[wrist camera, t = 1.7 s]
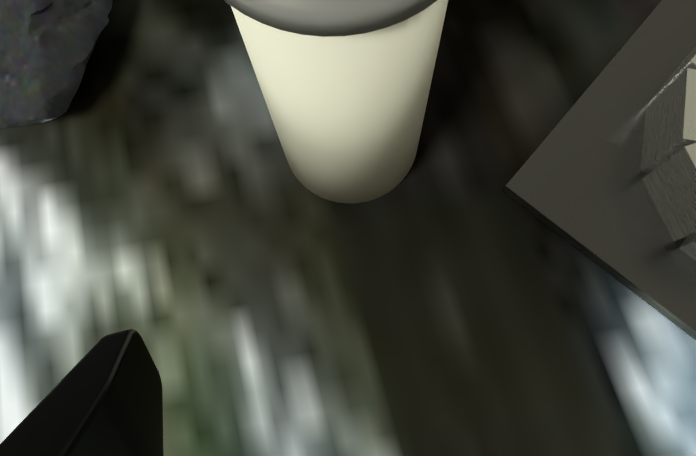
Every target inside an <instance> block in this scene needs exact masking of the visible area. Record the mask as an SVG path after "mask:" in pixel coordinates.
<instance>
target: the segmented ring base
mask: <svg viewBox="0 0 696 456" xmlns="http://www.w3.org/2000/svg"><path fill="white" fill-rule="evenodd" d="M502 191H503V192H504V193H505V194H507V195H508V196H509V197H511V198H512V199H513V200H515V201H516V202H517V203H518V204H520V205H521V206H522V207H524V208H525V209H526V210H528V211H529V212H530V213H531V214H533V215H534V216H535V217H537V218H538V219H539V220H540V221H542V222H543V223H544V224H546V225H547V226H548V227H550V228H551V229H552V230H553V231H555V232H556V233H557V234H559V235H560V236H561V237H563V238H564V239H565V240H566V241H568V242H569V243H570V244H572V245H573V246H574V247H576V248H577V249H578V250H579V251H581V252H582V253H583V254H585V255H586V256H587V257H589V258H590V259H591V260H592V261H594V262H595V263H596V264H598V265H599V266H600V267H602V268H603V269H604V270H605V271H607V272H608V273H609V274H611V275H612V276H613V277H615V278H616V279H617V280H618V281H620V282H621V283H622V284H624V285H625V286H626V287H628V288H629V289H630V290H631V291H633V292H634V293H635V294H637V295H638V296H639V297H641V298H642V299H643V300H644V301H646V302H647V303H648V304H650V305H651V306H652V307H654V308H655V309H656V310H657V311H659V312H660V313H661V314H663V315H664V316H665V317H667V318H668V319H669V320H670V321H672V322H673V323H674V324H676V325H677V326H678V327H680V328H681V329H682V330H683V331H685V332H686V333H687V334H689V335H690V336H691V337H693V338H694V339H695V340H696V0H662V1H661V2H660V3H659V4H658V5H657V7H656V8H655V9H654V10H653V11H652V13H651V14H650V15H649V16H648V17H647V18H646V20H645V21H644V22H643V23H642V24H641V26H640V27H639V28H638V29H637V30H636V32H635V33H634V34H633V35H632V36H631V37H630V39H629V40H628V41H627V42H626V43H625V45H624V46H623V47H622V48H621V49H620V51H619V52H618V53H617V54H616V55H615V56H614V58H613V59H612V60H611V61H610V62H609V64H608V65H607V66H606V67H605V68H604V70H603V71H602V72H601V73H600V74H599V75H598V77H597V78H596V79H595V80H594V81H593V83H592V84H591V85H590V86H589V87H588V89H587V90H586V91H585V92H584V93H583V95H582V96H581V97H580V98H579V99H578V100H577V102H576V103H575V104H574V105H573V106H572V108H571V109H570V110H569V111H568V112H567V114H566V115H565V116H564V117H563V118H562V119H561V121H560V122H559V123H558V124H557V125H556V127H555V128H554V129H553V130H552V131H551V133H550V134H549V135H548V136H547V137H546V138H545V140H544V141H543V142H542V143H541V144H540V146H539V147H538V148H537V149H536V150H535V152H534V153H533V154H532V155H531V156H530V157H529V159H528V160H527V161H526V162H525V163H524V165H523V166H522V167H521V168H520V169H519V171H518V172H517V173H516V174H515V175H514V177H513V178H512V179H511V180H510V181H509V182H508V184H507V185H506V186H505V188H504V189H503V190H502Z"/></svg>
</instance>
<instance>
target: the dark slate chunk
mask: <svg viewBox="0 0 696 456" xmlns="http://www.w3.org/2000/svg"><path fill="white" fill-rule="evenodd" d="M111 8H112V0H0V129H5V128H13V127H19V126H27V125H31V124H35V123H43V122H47V121H50V120H53V119H55V118H57V117H59V116H61V115H63V114H64V113H65V112H66V111H67V109H68V108H69V106H70V103H71V101H72V99H73V97H74V95H75V94H76V92H77V90H78V88H79V85H80V83H81V80H82V77H83V74H84V71H85V68H86V65H87V62H88V60H89V58H90V56H91V54H92V52H93V49H94V47H95V44H96V41H97V39H98V37H99V35H100V33H101V31H102V30H103V28H104V27H105V26H106V25H107V23H108V22H109V19H108V14H109V12H110V10H111Z"/></svg>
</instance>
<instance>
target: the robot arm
mask: <svg viewBox="0 0 696 456" xmlns="http://www.w3.org/2000/svg"><path fill="white" fill-rule="evenodd" d="M0 456H164V455H163V401H162V383H161V378H160V375H159V372H158V370H157V368H156V366H155V364H154V362H153V360H152V358H151V356H150V354H149V352H148V350H147V347H146V345H145V343H144V341H143V339H142V337H141V336H140V334H139V333H138V332H137V331H135V330H133V329H129V330H125V331H121V332H117V333H113V334H109V335H106V336H104V337H103V338H102V339H101V340H100V341H99V342H98V343H97V344H96V345H95V346H94V347H93V348H92V349H91V350H90V351H89V352H88V353H87V354H86V355H85V356H84V357H83V358H82V359H81V360H80V362H79V363H78V364H77V365H76V366H75V367H74V368H73V369H72V370H71V371H70V372H69V373H68V374H67V375H66V376H65V377H64V378H63V379H62V380H61V381H60V382H59V383H58V385H57V386H56V387H55V388H54V389H53V390H52V391H51V392H50V393H49V394H48V395H47V396H46V397H45V398H44V399H43V400H42V401H41V402H40V403H39V404H38V405H37V406H36V408H35V409H34V410H33V411H32V412H31V413H30V414H29V415H28V416H27V417H26V418H25V419H24V420H23V421H22V422H21V423H20V424H19V425H18V426H17V427H16V428H15V429H14V430H13V432H12V433H11V434H10V435H9V436H8V437H7V438H6V439H5V440H4V441H3V442H2V443H1V444H0Z"/></svg>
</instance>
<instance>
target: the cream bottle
mask: <svg viewBox="0 0 696 456" xmlns="http://www.w3.org/2000/svg"><path fill="white" fill-rule="evenodd" d="M224 1H226V2H227V3H228V4H229V5H231V8H232V10H233V13H234V16H235V19H236V21H237V24H238V27H239V30H240V32H241V35H242V38H243V41H244V43H245V46H246V49H247V52H248V54H249V57H250V60H251V63H252V65H253V68H254V71H255V74H256V76H257V79H258V82H259V85H260V88H261V90H262V93H263V96H264V99H265V101H266V104H267V107H268V110H269V112H270V115H271V118H272V121H273V123H274V126H275V129H276V132H277V134H278V137H279V140H280V143H281V145H282V148H283V151H284V154H285V156H286V159H287V162H288V164H289V167H290V169H291V170H292V172H293V174H294V175H295V177H296V178H297V179H298V180H299V182H300V183H301V184H302V185H304V186H305V187H306V188H307V189H308V190H310V191H311V192H312V193H314V194H316V195H318V196H320V197H322V198H324V199H327V200H330V201H334V202H339V203H361V202H366V201H370V200H374V199H376V198H378V197H381V196H383V195H385V194H386V193H388V192H390V191H391V190H392V189H394V188H395V187H396V186H397V185H398V184H399V183H400V182H401V181H402V180H403V179H404V178H405V176H406V175H407V174H408V172H409V170H410V169H411V167H412V165H413V162H414V160H415V157H416V153H417V149H418V144H419V139H420V134H421V129H422V124H423V120H424V115H425V110H426V105H427V100H428V96H429V91H430V86H431V81H432V76H433V71H434V67H435V62H436V57H437V52H438V47H439V42H440V38H441V33H442V28H443V23H444V18H445V14H446V9H447V4H448V0H224Z"/></svg>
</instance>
